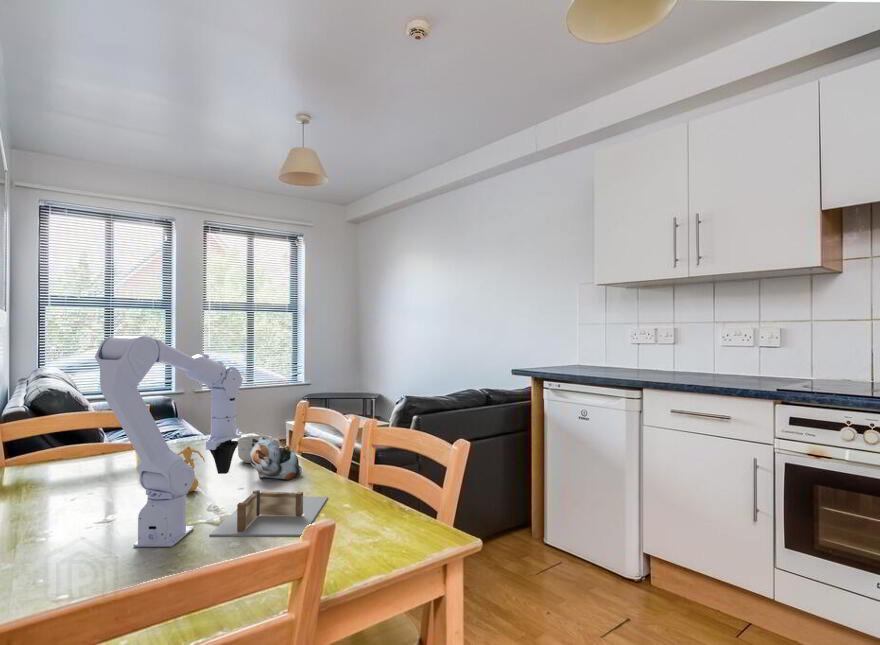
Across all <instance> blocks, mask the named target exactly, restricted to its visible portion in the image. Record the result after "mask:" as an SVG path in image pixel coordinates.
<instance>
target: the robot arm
mask: <svg viewBox="0 0 880 645" xmlns="http://www.w3.org/2000/svg"><path fill="white" fill-rule="evenodd" d="M94 359H95V360H96V362H97V364H98V366H99V377H100V378H99V380H100V381H99V382H100V391H101V393H102V395H103V398H104V399H105V401H106V402H107V404H108V406H109V408H110V409H111V411H112V413H113V415H114V417H115V418H116V420H117V421H118V423H119V425H120V427H121V428H122V430H123V432H124V434H125V435H126V437H127V439H128V441H129V442H130V444H131V446H132V447H133V449H134V451H135V452H136V454H137V455H138V458H139V459H140V461H139V462H138V463H137V465H136V469H137V471H138V475H139V484H140V486H141V488H143V489H144V490H145V495H146V496H147V498H146V499H147V501H146V503H145V505H144V506H143V507H142V508H141V509H140V511H139V513H138V516H137V540H136V542H134V543H133V547H139V548H140V547H153V548H154V547H156V548H157V547H158V548H159V547H173V546H174V545H176V544H177V543H178V542H179V541H180V540H182V539H183V538H184V537H185V536H186V535H188V534H189V533H190V532H192V531H193V530H194V528H195V526H193V525H187V494H189V492H188V490H189V489H190V488H191V486H192V485H193V482H194V478H196V477H195V476H196V475H195V469H194V470H193V468H192V466H190V464H189V463H188V464H186V463H185V462H184V460H185V459H184V458H183V457H182V456H180V455H178V453H176V452H175V451H173V450H172V449H170V447H169V445H168V443H167V441H166V439H165V438H164V436H163V434H162V431H161V429H159V426H158V424H157V423H156V421H155V418H154V417H153V415H152V413H151V412H150V409H149V407H148V406H147V404H146V402H145V401H144V399H143V397H142V395H141V393H140V391H139V389H138V387H139V385H140V383H141V382H142V381H143V379H144V378H145V377H146V375H147V374H148V373H149V371H150V370H151V368H152V367H153V366H154V365H155V364H156V363H161V364H165V365H167V366H170V367H174V368H176V369H179V370H181V371H183V372H184V375H185V377H186V378H187V379H190V380H192V381H195V382H198V383H200V384H203V385H205V386H206V388H207V389H208V390H210V435H209V437H208V439H207V440H206V441H205V450H207V451H209V452H210V454H211V455H212V458H213V460H214V464H215V468H216V471H217V474H220V475H223V474H224V475H225V474H228V473H230V468H231V466H232V465H231V464H232V460H233V457H234V454H235V452H236V449H237V448H238V440H234V439H238V438H241V437H242V434H241V433H240V428H237V416H238V415H237V414H238V413H237V405H238V404H237V403H238V402H237V400H238V399H237V398H238V397H239V395H240V394H239V393H240V392H239V391H240V387H241V386H242V384H243V377H242V374H241V372H240V371H239V369H237V368H236V367H235V366H226V365H224V362H222V361H216V360H213V359H211V358H210V355H209V354H207V353H200V354H195V355H192V356H191V355H189V354H186V353H185V352H183V351H181V350H179V349H177V348H175V347H173V346H171V345H169V344H167V343H165V342H163V341H162V340H160V339H158V338H157V339H156V338H153V337H151V336H148V335H139V336H138V335H137V336H135V335H134V336H133V335H132V336H129V335H128V336H127V335H126V336H125V335H124V336H122V335H117V334H116V335H115V334H114V335H109V336H108V337H106V338H104V339H103V340H102V341H101V343H100V344H99V346H98V349H97V351H96V353H95V356H94Z"/></svg>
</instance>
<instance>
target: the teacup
mask: <svg viewBox="0 0 880 645" xmlns="http://www.w3.org/2000/svg"><path fill="white" fill-rule="evenodd" d="M261 437H264V438H265V440H268V439H271V440H274V441H276V444H277V445H278V447H279V448H280V447H281V441H280V440H279V439H278V438H273V437H272V436H271V435H265V434H264V435H261V434H260V435H259V434H258V435H247V436H241V437H240V438H236V439H237V440H236V441H238V445H237V456H238V458H239V459H240V460H241V461H242V462H243V463H246V464H251V456H250V453H251V451H252V443H253V441H252V439H256V440H259V438H261Z"/></svg>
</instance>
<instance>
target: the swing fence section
mask: <svg viewBox="0 0 880 645" xmlns="http://www.w3.org/2000/svg"><path fill="white" fill-rule="evenodd" d="M303 497H304V491H297V492H288V491H287V492H286V491H285V492H284V491H281V492H280V491H260V514H261V515H285V516H300V517H301V516H302V515H303Z"/></svg>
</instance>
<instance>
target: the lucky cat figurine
mask: <svg viewBox="0 0 880 645" xmlns="http://www.w3.org/2000/svg"><path fill="white" fill-rule="evenodd" d="M252 441H253V443H252V451H251V453H250V456H251V463H250V464H251V466H253V468H254V469H255V470H256V471H257V474H258V478H259V479H262V478H270V479H278V480H279V479H280V480H285V481H291V480H295V479H297V478H298V476H301V475H302V473H303V472H302V470H303V469H302V467H301V466H300V464H299V462H300V461H299V458H298V456H297V454H296V453H295V452H294V451H293V450H291V449H290V447H289V445H285V446H284V447H281V446H280V447H278V445H277V443H276V441H274V440H271V439H268V440H265V438H264V437H261V438H259V440H256V439H252Z"/></svg>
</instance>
